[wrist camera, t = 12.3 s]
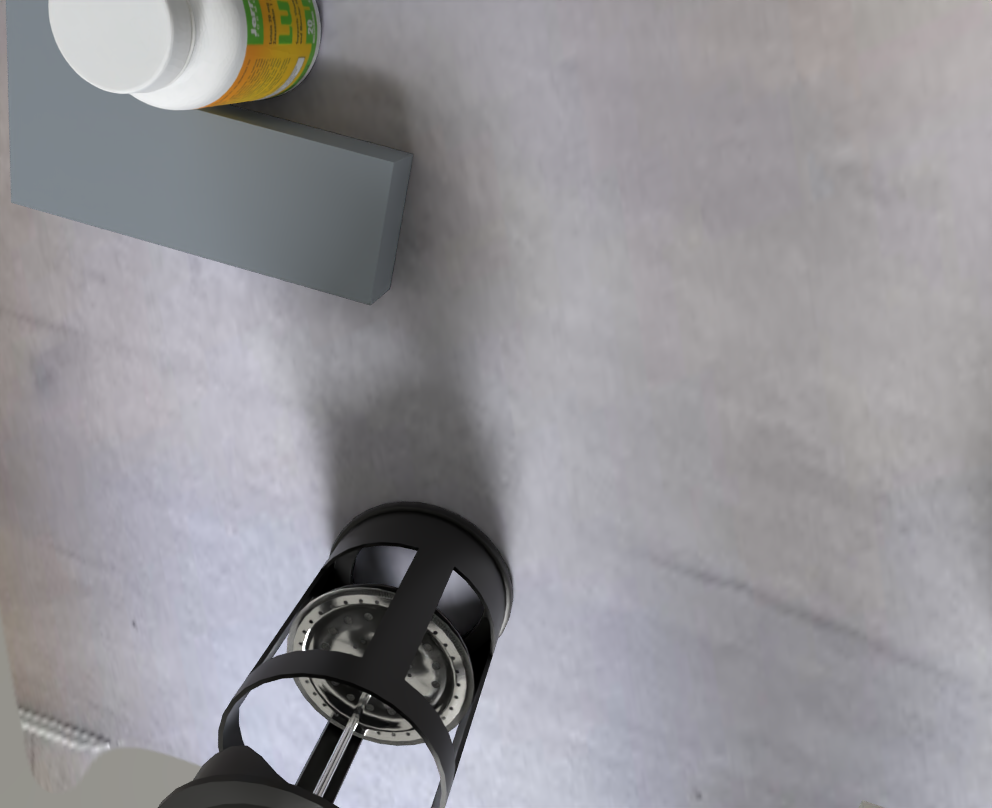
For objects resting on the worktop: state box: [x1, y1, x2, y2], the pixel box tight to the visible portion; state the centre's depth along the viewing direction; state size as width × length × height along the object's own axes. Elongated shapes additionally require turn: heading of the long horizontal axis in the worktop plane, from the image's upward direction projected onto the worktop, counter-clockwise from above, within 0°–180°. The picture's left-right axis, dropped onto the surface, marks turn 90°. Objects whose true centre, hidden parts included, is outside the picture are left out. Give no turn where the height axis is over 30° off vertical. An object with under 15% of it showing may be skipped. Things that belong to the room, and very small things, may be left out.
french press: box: [158, 502, 513, 808], centre depth 32 cm, size 12×9×23 cm
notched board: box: [6, 0, 413, 305], centre depth 32 cm, size 16×18×2 cm
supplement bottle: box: [48, 0, 321, 110], centre depth 29 cm, size 5×5×10 cm
